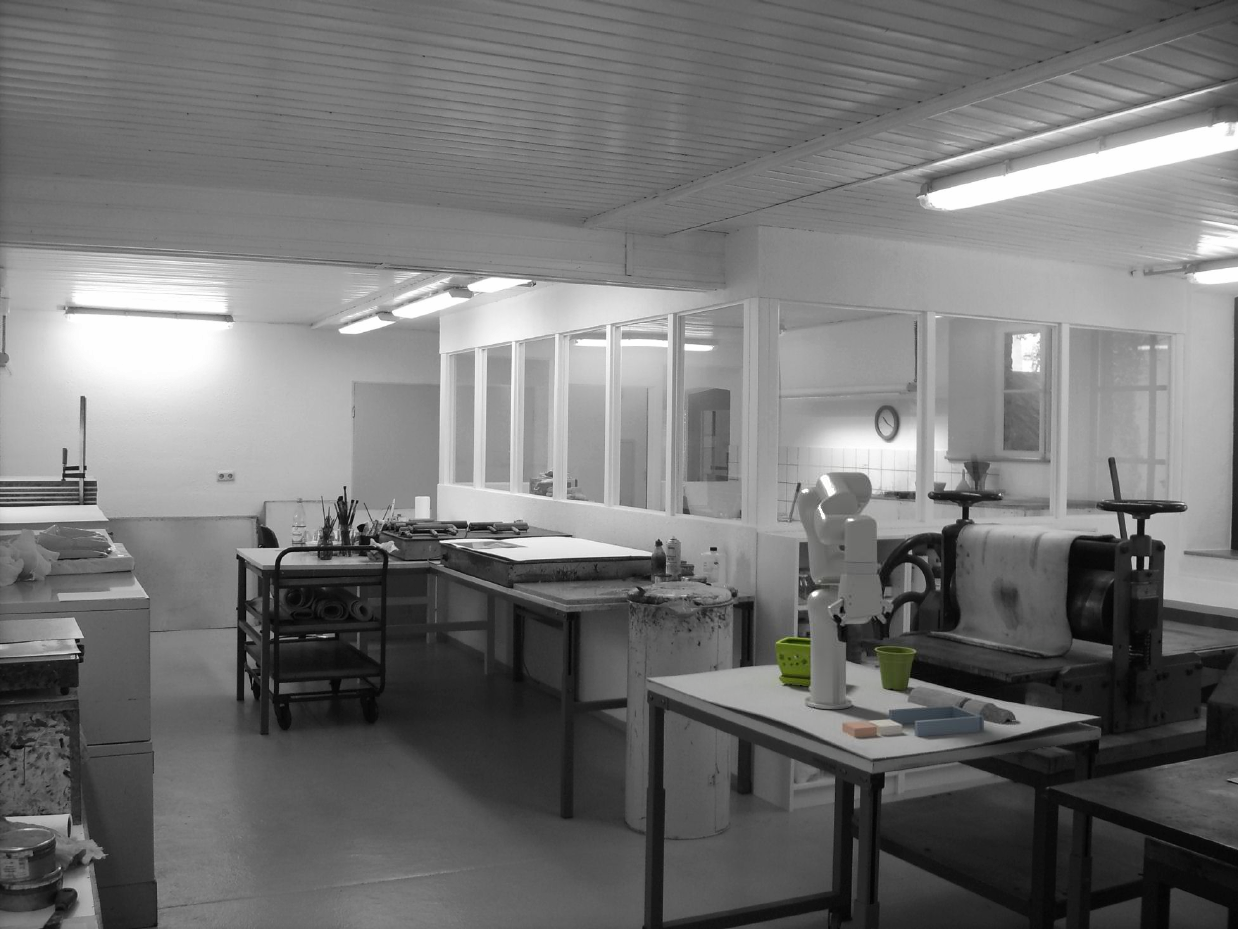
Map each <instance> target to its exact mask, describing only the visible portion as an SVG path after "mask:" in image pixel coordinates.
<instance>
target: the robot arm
mask: <svg viewBox="0 0 1238 929" xmlns="http://www.w3.org/2000/svg"><path fill="white" fill-rule="evenodd" d="M872 495H873V486H872V482H871V480H870V478H869V476H868V475H866V473H864V472H861V471H859V472H857V471H852V472H851V471H849V472H848V471H847V472H846V471H845V472H843V471H842V472H841V471H840V472H839V471H838V472H837V471H833V472H827V473H824V474H822V475H821V476H820V477H819V478H818V479H817V480H816V484H815V486H810V487H806V488H803V489H801V491H800V492H799V494H798V497H797V509H798V510H797V511H798V515H799V519H800V521H801V524H802V526H803V529H804V531H805V535H806V538H807V549H808V563H809V564H808V566H809V574H810V577H811V579H812V580H811V581H813V583H815V584H817V585H823V586H838V588H819V589H815V590H813V591H812V592H811V593H809V595H808V597H807V600H806V604H807V605H806V606H807V607H806V608H807V614H808V621H809V630H810V631H809V634H810V639H811V686H808V691H810V696H808V697H806V698H805V699H804V704H805V705H806V706H808V707H810V708H814V707H815V709H823V710H843V709H849V708H850V707H852V705H853V702H852V700H851V699H850V698H847V643H848V626H847V625H860V624H861V625H863V624H867V623H869V622H870V621H871V619H872V617H873V619H874V622H873V639H875V640H877V641H883V640H884V635H885V624H886V623H887V620H888V619H889V618H890V617H891V613H892V611H893V609H894V606H895V605H894V604H893V603H891V602H889V601H888V600H886V599H884V598H883V590H882V582H881V579H880V574H878V570H881V568H882V565H881V563H878V525H877V520H876V519H875V518H872V516H869V515H867V514H861V513H862V512H863V511H864V509H865V508H866V507H867V506H868V505H869V503H870V500H871V499H872ZM840 546H844V550H841V549H840ZM883 607H884V610H883Z"/></svg>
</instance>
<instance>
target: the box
mask: <svg viewBox="0 0 1238 929" xmlns="http://www.w3.org/2000/svg"><path fill="white" fill-rule="evenodd" d="M888 719H890V720H892V721H894V722H897V723H899V724H901V725H907V724H908V725H909V724H914V736H916V737H928V736H941V735H953V734H965V733H975V732H976V733H977V732H984V731H985V721H984V717H983V716H980V715H978V714H975V713H972V712H970V711H967V710H964V709H962V708H959V707H957V706H954V705H949V706H935V707H926V706H923V707H913V708H912V707H910V708H908V707H907V708H896V709H889V710H888Z"/></svg>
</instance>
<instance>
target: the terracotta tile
mask: <svg viewBox="0 0 1238 929" xmlns="http://www.w3.org/2000/svg"><path fill="white" fill-rule="evenodd" d="M841 725H842V729H841V730H842V731H843V732H842V733H844V732H845V734H846V733H848V734H849V736H850V735H851V736H850V737H852V736H853V738H854V737H856V738H865V737H866V738H867V737H877V735H878V734H877V727H876V726H874V725H871V724H869V723H868V721H865V720H862V721H848V722H842V724H841ZM848 734H847V735H848Z"/></svg>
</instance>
